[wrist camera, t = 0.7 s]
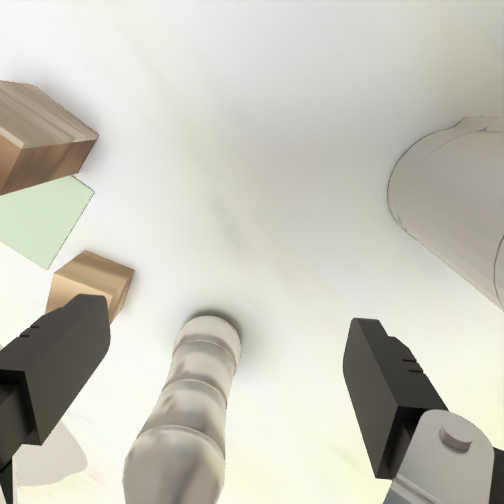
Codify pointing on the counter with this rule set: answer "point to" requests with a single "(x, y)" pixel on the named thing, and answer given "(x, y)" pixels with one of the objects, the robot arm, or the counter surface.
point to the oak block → (90, 282)
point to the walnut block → (38, 138)
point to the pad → (42, 217)
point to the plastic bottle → (187, 421)
